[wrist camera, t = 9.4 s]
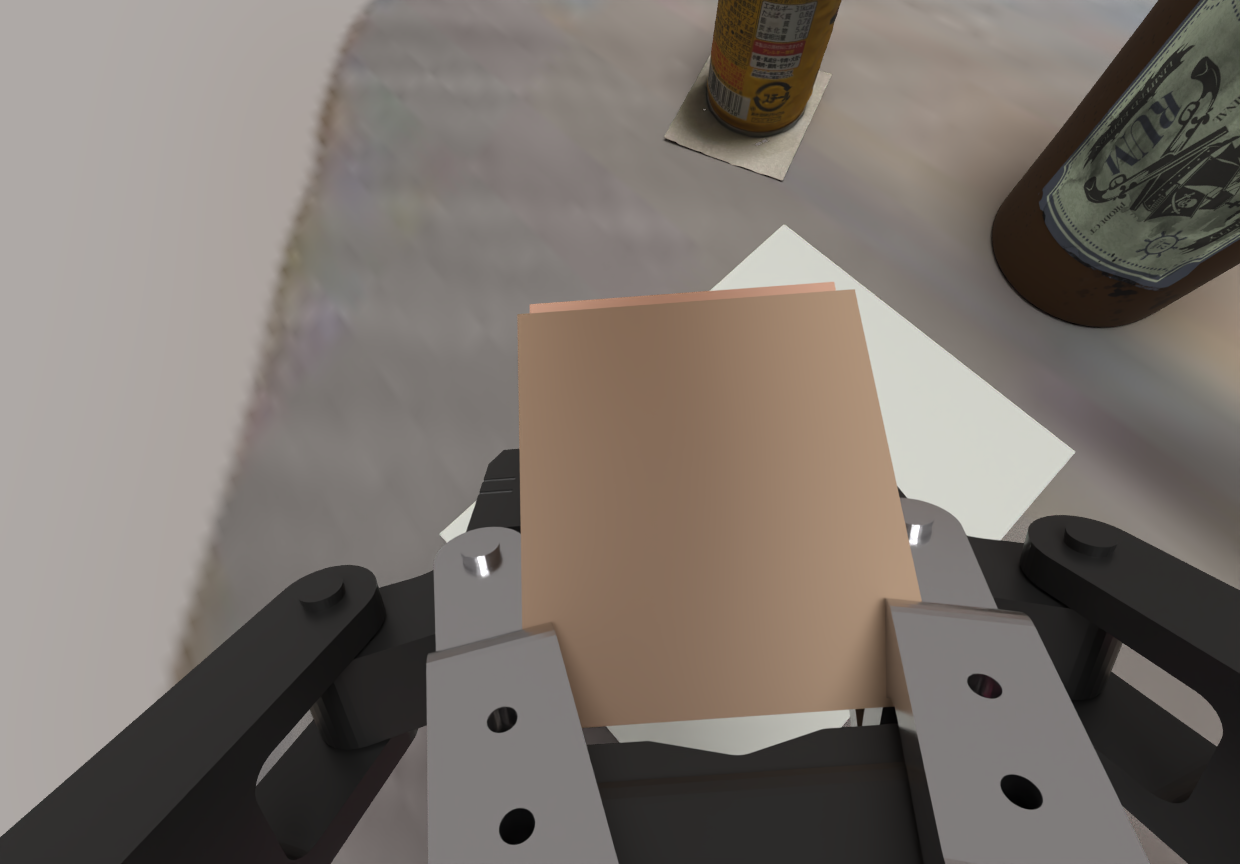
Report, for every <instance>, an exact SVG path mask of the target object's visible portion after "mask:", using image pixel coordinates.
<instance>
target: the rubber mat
mask: <svg viewBox="0 0 1240 864" xmlns="http://www.w3.org/2000/svg"><path fill="white" fill-rule="evenodd" d="M823 282H834V283H835V288H836V291H837V290H851V289H855V293H856V297H857V302H858V307H859V311H860V316H861V321H862V325H863V330H864V335H865V339H866V344H867V349H868V353H869V358H870V362H871V367H872V372H873V376H874V381H875V386H876V390H877V395H878V400H879V404H880V409H881V414H882V418H883V423H884V428H885V432H886V437H887V442H888V446H889V451H890V455H891V460H892V465H893V469H894V474H895V479H896V483H897V486H898V487H899V488H900V490H901V491H902V492H903V493H904V495H905V496H906V497H907V498H910V499H916V500H921V501H924V502H928V503H931V504H933V505H936V506H938V507H940V508H942V509H944V510H946V511H948V512H949V513H951V514H952V515H953V516H954V517H956V518H957V520H958V521H959V522H960V523H961V525H962V527H963V529H964V531H965V533H966V535H967V536H971V537H977V538H984V539H992V540H1001V539H1002V538H1003V536H1004V535H1005V534H1006V533H1007V532H1008V531H1009V529H1010V528H1011V527H1012V526H1013V525H1014V524H1015V522H1016V521H1017V520H1018V519H1019V518H1020V517H1021V515H1022V514H1023V513H1024V512H1025V511H1026V509H1027V508H1028V507H1029V506H1030V505H1031V504H1032V502H1033V501H1034V500H1035V499H1036V498H1037V497H1038V495H1039V494H1040V493H1041V492H1042V491H1043V489H1044V488H1045V487H1046V486H1047V485H1048V484H1049V482H1050V481H1051V480H1052V479H1053V478H1054V477H1055V475H1056V474H1057V473H1058V472H1059V471H1060V469H1061V468H1062V467H1063V466H1064V465H1065V464H1066V462H1067V461H1068V460H1069V459H1070V458H1071V457H1072V455H1073V454H1074V453H1075V451H1074V450H1072V449H1071V448H1070V447H1069V446H1067V445H1066V444H1065V443H1063V442H1062V441H1061V440H1060V439H1058V438H1057V437H1056V436H1054V435H1053V434H1052V433H1051V432H1049V431H1048V430H1047V429H1046V428H1044V427H1043V426H1042V425H1040V424H1039V423H1038V422H1037V421H1035V420H1034V419H1033V418H1031V417H1030V416H1029V415H1028V414H1026V413H1025V412H1024V411H1022V410H1021V409H1020V408H1019V407H1017V406H1016V405H1015V404H1014V403H1012V402H1011V401H1010V400H1008V399H1007V398H1006V397H1005V396H1003V395H1002V394H1001V393H999V392H998V391H997V390H996V389H994V388H993V387H992V386H991V385H989V384H988V383H987V382H985V381H984V380H983V379H982V378H980V377H979V376H978V375H976V374H975V373H974V372H973V371H971V370H970V369H969V368H967V367H966V366H965V365H964V364H962V363H961V362H960V361H959V360H957V359H956V358H955V357H953V356H952V355H951V354H950V353H948V352H947V351H946V350H944V349H943V348H942V347H941V346H939V345H938V344H937V343H936V342H934V341H933V340H932V339H930V338H929V337H928V336H927V335H925V334H924V333H923V332H921V331H920V330H919V329H918V328H916V327H915V326H914V325H912V324H911V323H910V322H909V321H907V320H906V319H905V318H904V317H902V316H901V315H900V314H898V313H897V312H896V311H895V310H893V309H892V308H891V307H889V306H888V305H887V304H886V303H884V302H883V301H882V300H881V299H879V298H878V297H877V296H875V295H874V294H873V293H872V292H870V291H869V290H868V289H866V288H865V287H864V286H863V285H861V284H860V283H859V282H857V281H856V280H855V279H854V278H852V277H851V276H850V275H849V274H847V273H846V272H845V271H843V270H842V269H841V268H840V267H838V266H837V265H836V264H834V263H833V262H832V261H831V260H829V259H828V258H827V257H826V256H824V255H823V254H822V253H820V252H819V251H818V250H817V249H815V248H814V247H813V246H811V245H810V244H809V243H808V242H806V241H805V240H804V239H802V238H801V237H800V236H799V235H797V234H796V233H795V232H794V231H792V230H791V229H790V228H788V227H787V226H786V225H785V224H784V225H783V226H781V227H780V228H779V229H778V230H777V231H776V232H775V233H774V234H773V235H771V236H770V237H769V238H768V239H767V240H766V241H765V242H764V243H763V244H761V245H760V246H759V247H758V248H757V249H756V250H755V251H754V252H753V253H751V254H750V255H749V256H748V257H747V258H746V259H745V260H744V261H743V262H741V263H740V264H739V265H738V266H737V267H736V268H735V269H734V270H733V271H731V272H730V273H729V274H728V275H727V276H726V277H725V278H724V279H723V280H721V281H720V282H719V283H718V284H717V285H716V286H715V287H714V288H713V289H711V290H710V291H716V290H730V289H743V288H757V287H770V286H783V285H797V284H810V283H823ZM475 504H476V502H475V503H473V504H472V505H471V506H470V507H469V508H468V509H467V510H466V511H465V512H463V513H462V514H461V515H460V516H459V517H458V518H457V519H456V520H455V521H453V522H452V523H451V524H450V525H449V526H448V527H447V528H446V529H445V530H443V531H442V532H441V533H440V535H441V537H442V538H443V539H444V540H445V541H446V542H449V541H450V540H452V539H453V538H455V537H457V536H459V535H461V534H463V533H465V532H466V530H467V527H468V524H469V521H470V518H471V516H472V513H473V510H474V507H475ZM849 717H850V712H849V710H835V711H821V712H806V713H792V714H777V715H762V716H748V717H733V718H719V719H704V720H690V721H675V722H661V723H646V724H631V725H617V726H606V727H607V728H608V729H609V730H610V732H611V733H612V734H613V735H614V736H615V737H616V738H617V740H618V741H619V742H620V743H624V742H639V741H653V742H658V743H664V744H670V745H676V746H682V747H688V748H694V749H700V750H706V751H712V752H718V753H724V754H730V755H745V754H749V753H752V752H755V751H758V750H761V749H764V748H767V747H770V746H773V745H776V744H779V743H782V742H785V741H788V740H791V739H794V738H797V737H800V736H803V735H806V734H809V733H812V732H815V731H818V730H821V729H826V728H841V727H842V726H843V724H844V723H845V722H846V721H847V720H848V719H849Z"/></svg>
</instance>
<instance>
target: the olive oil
mask: <svg viewBox="0 0 1240 864" xmlns="http://www.w3.org/2000/svg"><path fill="white" fill-rule="evenodd" d="M992 240H993V248H994V252H995V256H996V259H997V261H998V264H999V266H1000V268H1001V270H1002V271H1003V273H1004V275H1005V276H1006V278H1007V279H1008V281H1009V282H1010V283H1011V284H1012V286H1013V287H1014V288H1015V289H1016V290H1017V291H1018V292H1019V293H1020V294H1021V295H1022V296H1023V297H1024V298H1026V299H1027V300H1028V301H1029V302H1031V303H1032V304H1033V305H1035V306H1036V307H1038V308H1040V309H1041V310H1043V311H1045V312H1047V313H1049V314H1051V315H1053V316H1055V317H1057V318H1060V319H1062V320H1065V321H1068V322H1072V323H1076V324H1080V325H1085V326H1093V327H1114V326H1121V325H1126V324H1130V323H1133V322H1136V321H1139V320H1141V319H1143V318H1146V317H1148V316H1150V315H1151V314H1153V313H1155V312H1157V311H1159V310H1160V309H1162V308H1164V307H1166V306H1167V305H1169V304H1171V303H1172V302H1174V301H1176V300H1178V299H1179V298H1181V297H1183V296H1184V295H1186V294H1188V293H1190V292H1191V291H1193V290H1195V289H1196V288H1198V287H1200V286H1202V285H1203V284H1205V283H1207V282H1208V281H1210V280H1212V279H1214V278H1215V277H1217V276H1219V275H1220V274H1222V273H1224V272H1226V271H1227V270H1229V269H1231V268H1233V267H1234V266H1236V265H1238V264H1239V263H1240V0H1158V1H1157V3H1156V4H1155V6H1154V7H1153V8H1152V10H1151V11H1150V12H1149V14H1148V15H1147V16H1146V18H1145V19H1144V20H1143V22H1142V23H1141V24H1140V26H1139V27H1138V28H1137V29H1136V31H1135V32H1134V33H1133V35H1132V36H1131V37H1130V39H1129V40H1128V41H1127V43H1126V44H1125V45H1124V47H1123V48H1122V49H1121V51H1120V52H1119V53H1118V55H1117V56H1116V57H1115V59H1114V60H1113V61H1112V62H1111V64H1110V65H1109V66H1108V68H1107V69H1106V70H1105V72H1104V73H1103V74H1102V76H1101V77H1100V78H1099V80H1098V81H1097V82H1096V84H1095V85H1094V86H1093V88H1092V89H1091V90H1090V91H1089V93H1088V94H1087V95H1086V97H1085V98H1084V99H1083V101H1082V102H1081V103H1080V105H1079V106H1078V107H1077V109H1076V110H1075V111H1074V113H1073V114H1072V115H1071V116H1070V118H1069V119H1068V120H1067V122H1066V123H1065V124H1064V126H1063V127H1062V128H1061V129H1060V131H1059V132H1058V133H1057V135H1056V136H1055V137H1054V138H1053V140H1052V141H1051V142H1050V143H1049V145H1048V146H1047V147H1046V149H1045V150H1044V151H1043V152H1042V154H1041V155H1040V156H1039V157H1038V159H1037V160H1036V161H1035V162H1034V164H1033V165H1032V166H1031V167H1030V169H1029V170H1028V171H1027V173H1026V174H1025V175H1024V176H1023V178H1022V179H1021V180H1020V181H1019V183H1018V184H1017V185H1016V186H1015V188H1014V189H1013V190H1012V192H1011V193H1010V194H1009V195H1008V197H1007V198H1006V199H1005V201H1004V202H1003V204H1002V205H1001V207H1000V209H999V211H998V213H997V215H996V218H995V221H994V225H993V232H992Z"/></svg>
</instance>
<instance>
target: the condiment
mask: <svg viewBox="0 0 1240 864" xmlns="http://www.w3.org/2000/svg"><path fill="white" fill-rule="evenodd" d="M840 3H841V0H718V7H717V15H716V21H715V29H714V35H713V43H712V51H711V54H710V56H709V58H708V60H707V61H706V63H705V65H704V67H703V69H702V71H701V73H700V74H699V76H698V77H697V80H696V82H695V83H694V85H693V86H692V88H691V90H690V91H689V93H688V94H687V96H686V99H685V100H684V102H683V104H682V106H681V108H680V110H679V112H678V113H677V115H676V117H675V119H674V120H673V122H672V123H671V125H670V127H669V129H668V131H667V132H666V134H665V136H664V137H665V138H667V139H669V140H672V141H675V142H677V143H678V144H680V145H682V146H686V147H688V148H690V149H693V150H696V151H699V152H702V153H704V154H706V155H708V156H711V157H714V158H717V159H720V160H723V161H726V162H729V163H730V164H732V165H737V166H741V167H744V168H747V169H750V170H752V171H754V172H757V173H760V174H765V175H768V176H771V177H774V178H776V179H779V180H782V181H783V179H784V177H785V174H786V172H787V170H788V168H789V166H790V164H791V162H792V159H793V157H794V155H795V153H796V151H797V148H798V146H799V144H800V142H801V140H802V138H803V136H804V134H805V131H806V129H807V127H808V125H809V123H810V121H811V119H812V117H813V114H814V112H815V110H816V108H817V106H818V104H819V102H820V100H821V97H822V95H823V93H824V91H825V89H826V87H827V84H828V82H829V80H830V78H831V75H832V74H831V73H826V72H824V71H820V70H819V68H820V65H821V61H822V58H823V56H824V53H825V50H826V48H827V44H828V42H829V39H830V36H831V33H832V30H833V25H834V21H835V19H836V16H837V12H838V9H839V6H840ZM703 109H706V110H705V111H703ZM764 139H766V140H768V142H764V143H763V142H762V140H764ZM758 142H762V144H761V145H758V146H756V145H755V144H756V143H758Z"/></svg>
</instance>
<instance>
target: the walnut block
mask: <svg viewBox="0 0 1240 864" xmlns="http://www.w3.org/2000/svg"><path fill="white" fill-rule="evenodd" d="M518 380H519V448H520V515H521V582H522V629H525V628H528V627H532V626H536V625H540V624H544V623H548V622H552V623H553V626H554V629H555V632H556V636H557V640H558V643H559V647H560V651H561V654H562V658H563V662H564V665H565V669H566V673H567V676H568V680H569V684H570V687H571V691H572V695H573V698H574V702H575V706H576V709H577V713H578V717H579V720H580V724H581V728H588V727H602V726H617V725H631V724H646V723H661V722H675V721H690V720H704V719H719V718H733V717H748V716H762V715H777V714H792V713H806V712H821V711H835V710H850V709H864V708H879V707H894V703H893V701H892V699H889V698H886V657H885V598H892V599H902V600H912V601H922V600H921V595H920V590H919V586H918V581H917V576H916V572H915V567H914V562H913V558H912V553H911V548H910V544H909V539H908V535H907V530H906V525H905V521H904V516H903V511H902V507H901V502H900V497H899V493H898V488H897V483H896V479H895V474H894V469H893V465H892V460H891V455H890V451H889V446H888V442H887V437H886V432H885V428H884V423H883V418H882V414H881V409H880V404H879V400H878V395H877V390H876V386H875V381H874V376H873V372H872V367H871V362H870V358H869V353H868V349H867V344H866V339H865V335H864V330H863V325H862V321H861V316H860V311H859V307H858V302H857V297H856V293H855V289H851V290H837V291H836V288H835V283H834V282H823V283H810V284H797V285H783V286H770V287H757V288H743V289H730V290H716V291H703V292H690V293H676V294H663V295H650V296H636V297H623V298H610V299H596V300H583V301H569V302H556V303H543V304H530V313H529V314H518Z"/></svg>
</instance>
